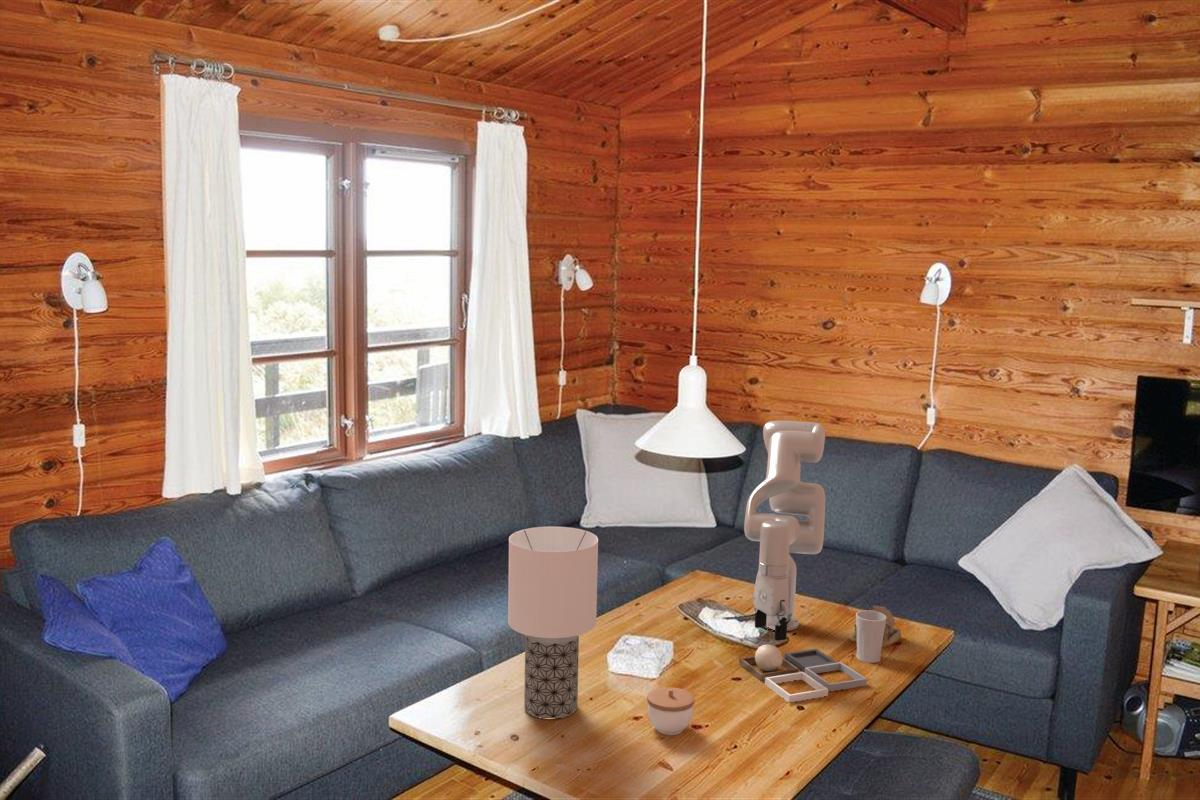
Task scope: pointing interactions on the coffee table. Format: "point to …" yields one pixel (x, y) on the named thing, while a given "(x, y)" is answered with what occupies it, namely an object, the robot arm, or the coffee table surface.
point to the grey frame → (857, 682)
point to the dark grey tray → (808, 658)
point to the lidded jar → (670, 709)
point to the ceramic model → (890, 631)
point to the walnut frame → (751, 660)
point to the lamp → (552, 611)
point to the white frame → (817, 693)
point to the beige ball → (768, 657)
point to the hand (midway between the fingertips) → (770, 633)
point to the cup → (869, 635)
